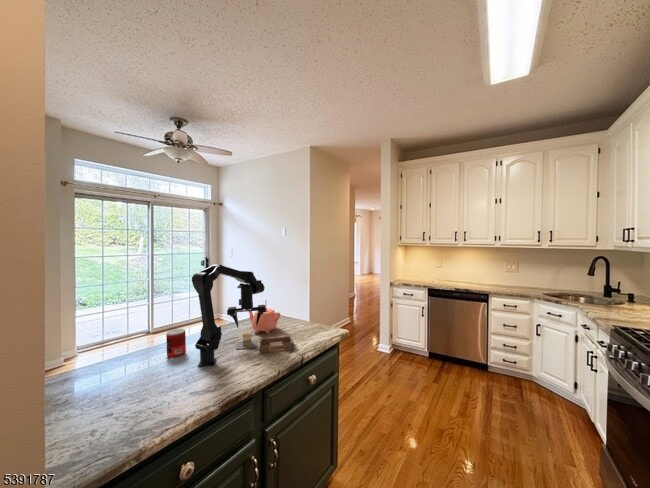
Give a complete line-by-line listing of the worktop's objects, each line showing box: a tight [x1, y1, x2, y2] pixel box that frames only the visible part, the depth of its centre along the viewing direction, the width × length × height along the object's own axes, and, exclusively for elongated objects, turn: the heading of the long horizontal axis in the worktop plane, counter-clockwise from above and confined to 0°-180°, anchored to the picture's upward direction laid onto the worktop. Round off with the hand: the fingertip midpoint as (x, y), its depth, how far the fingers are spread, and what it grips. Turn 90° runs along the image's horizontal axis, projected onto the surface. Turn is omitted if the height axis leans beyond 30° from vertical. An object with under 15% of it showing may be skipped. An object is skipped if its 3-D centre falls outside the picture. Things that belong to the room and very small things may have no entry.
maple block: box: [242, 330, 252, 346], centre depth 138 cm, size 4×4×6 cm
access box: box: [258, 335, 295, 355], centre depth 134 cm, size 10×16×4 cm, turn 104°
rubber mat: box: [235, 339, 259, 351], centre depth 138 cm, size 10×10×1 cm
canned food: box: [165, 328, 187, 359], centre depth 128 cm, size 8×8×11 cm
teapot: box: [248, 307, 281, 334], centre depth 161 cm, size 16×17×14 cm
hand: (247, 326), depth 138 cm, fingers open, 9 cm apart
